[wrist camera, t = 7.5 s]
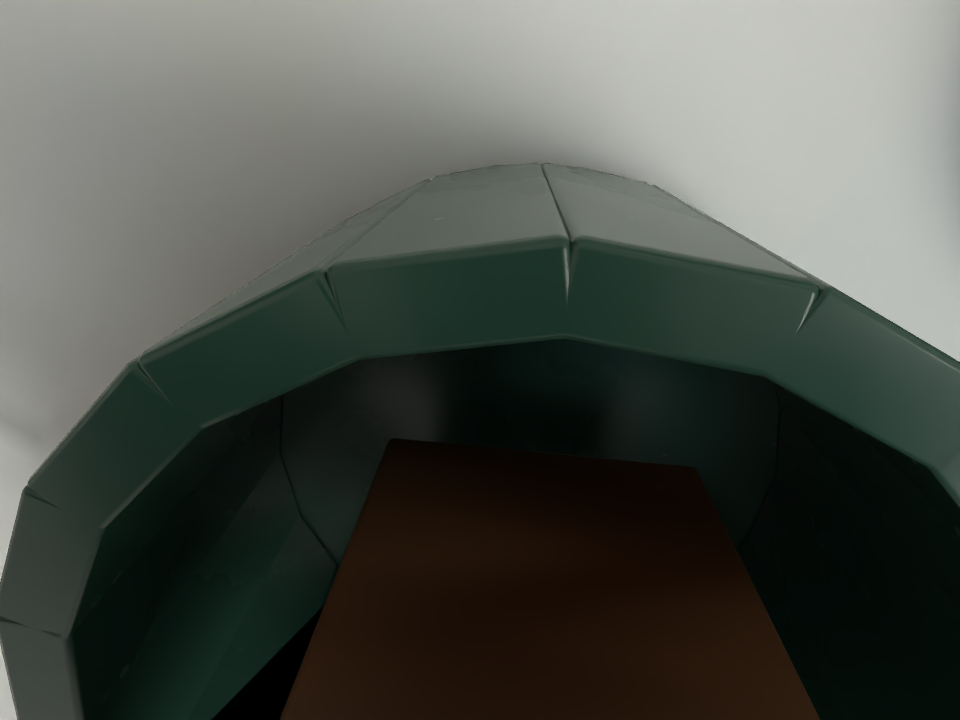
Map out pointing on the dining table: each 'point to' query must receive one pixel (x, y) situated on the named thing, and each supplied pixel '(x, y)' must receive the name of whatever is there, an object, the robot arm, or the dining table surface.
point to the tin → (494, 441)
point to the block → (541, 598)
